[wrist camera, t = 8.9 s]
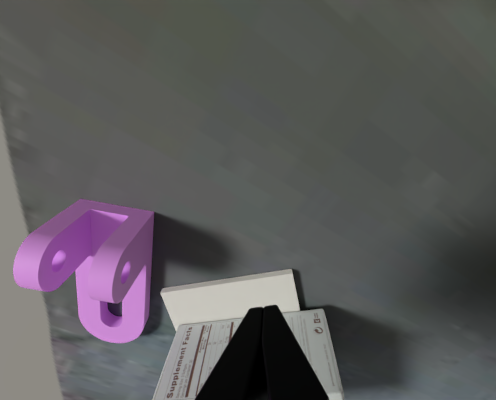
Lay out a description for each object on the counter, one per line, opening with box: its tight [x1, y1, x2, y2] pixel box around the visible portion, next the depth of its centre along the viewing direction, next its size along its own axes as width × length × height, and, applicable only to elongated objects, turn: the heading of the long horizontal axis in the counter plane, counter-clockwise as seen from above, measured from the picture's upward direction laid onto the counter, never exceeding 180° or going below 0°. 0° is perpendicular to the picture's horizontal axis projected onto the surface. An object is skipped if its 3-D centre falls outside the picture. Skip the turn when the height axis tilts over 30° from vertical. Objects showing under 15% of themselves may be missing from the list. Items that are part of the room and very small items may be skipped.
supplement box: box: [152, 309, 344, 400], centre depth 23 cm, size 7×7×13 cm
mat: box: [160, 269, 300, 332], centre depth 27 cm, size 11×14×1 cm
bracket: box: [13, 199, 154, 343], centre depth 22 cm, size 13×6×7 cm, turn 170°
